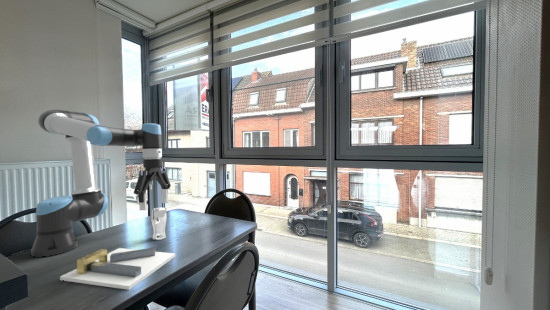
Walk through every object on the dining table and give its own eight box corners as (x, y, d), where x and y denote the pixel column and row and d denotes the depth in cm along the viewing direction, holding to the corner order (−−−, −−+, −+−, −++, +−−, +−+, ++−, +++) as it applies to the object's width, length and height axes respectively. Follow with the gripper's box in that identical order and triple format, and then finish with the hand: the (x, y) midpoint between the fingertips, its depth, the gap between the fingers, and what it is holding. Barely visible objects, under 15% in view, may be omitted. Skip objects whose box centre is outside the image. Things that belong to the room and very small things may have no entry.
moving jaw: (110, 262, 89) (110, 256, 89) (111, 259, 92) (111, 253, 92) (154, 255, 96) (154, 249, 96) (155, 252, 98) (155, 247, 98)
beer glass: (163, 234, 123) (162, 206, 123) (169, 237, 119) (169, 208, 119) (149, 238, 118) (149, 209, 118) (155, 241, 113) (155, 211, 113)
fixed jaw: (78, 270, 84) (78, 263, 84) (85, 266, 86) (85, 260, 86) (135, 277, 79) (135, 270, 79) (141, 273, 82) (141, 266, 82)
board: (60, 280, 80) (59, 276, 79) (119, 250, 103) (119, 248, 103) (129, 289, 74) (129, 286, 74) (175, 256, 98) (175, 253, 98)
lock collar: (77, 272, 82) (76, 259, 82) (101, 260, 91) (100, 248, 91) (83, 273, 81) (83, 260, 81) (107, 261, 90) (107, 249, 90)
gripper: (138, 159, 89) (140, 213, 89) (177, 157, 113) (179, 200, 114) (121, 159, 90) (124, 213, 90) (163, 158, 115) (165, 200, 115)
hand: (154, 206), depth 102 cm, fingers open, 13 cm apart
